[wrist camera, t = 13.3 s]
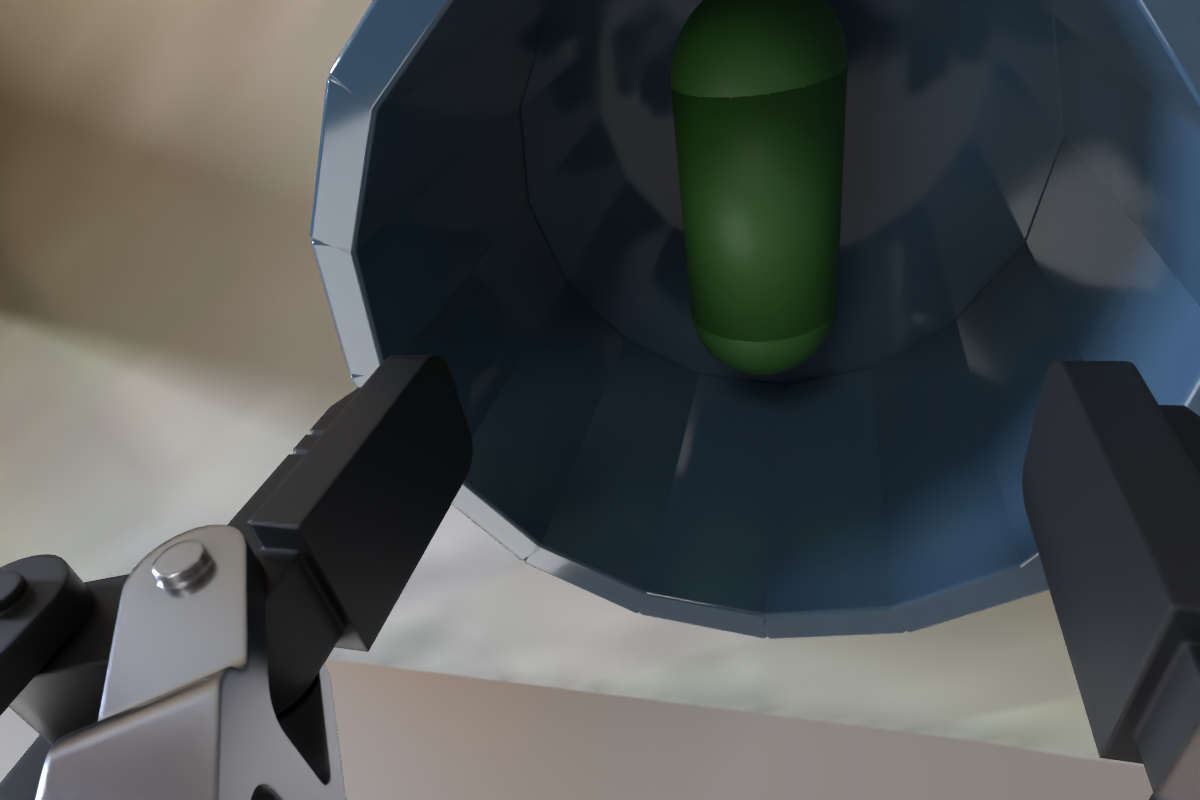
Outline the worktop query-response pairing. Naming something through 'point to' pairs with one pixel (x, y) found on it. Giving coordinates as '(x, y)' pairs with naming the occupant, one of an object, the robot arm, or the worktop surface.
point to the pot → (864, 302)
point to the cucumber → (761, 176)
